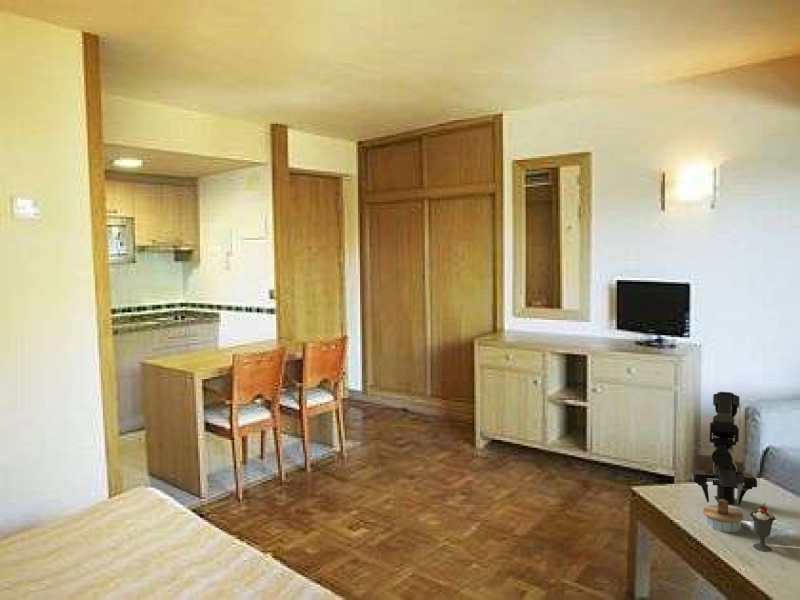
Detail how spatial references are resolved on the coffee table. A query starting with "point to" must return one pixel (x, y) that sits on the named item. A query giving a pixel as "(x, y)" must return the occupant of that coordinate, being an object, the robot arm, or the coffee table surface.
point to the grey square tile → (746, 514)
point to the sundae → (762, 526)
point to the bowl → (723, 525)
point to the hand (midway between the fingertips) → (722, 503)
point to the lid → (723, 512)
